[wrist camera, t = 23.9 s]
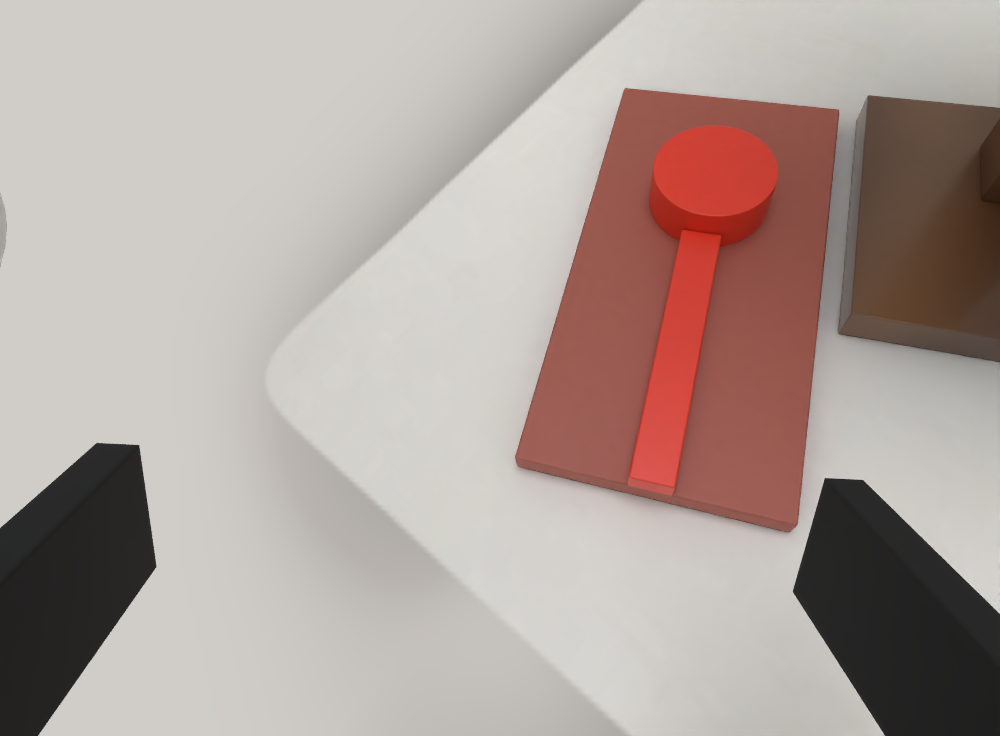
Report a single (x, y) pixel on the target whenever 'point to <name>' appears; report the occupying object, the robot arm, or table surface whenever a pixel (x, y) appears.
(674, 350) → the red spoon
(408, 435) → the table surface
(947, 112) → the spoon stand
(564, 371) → the red board
